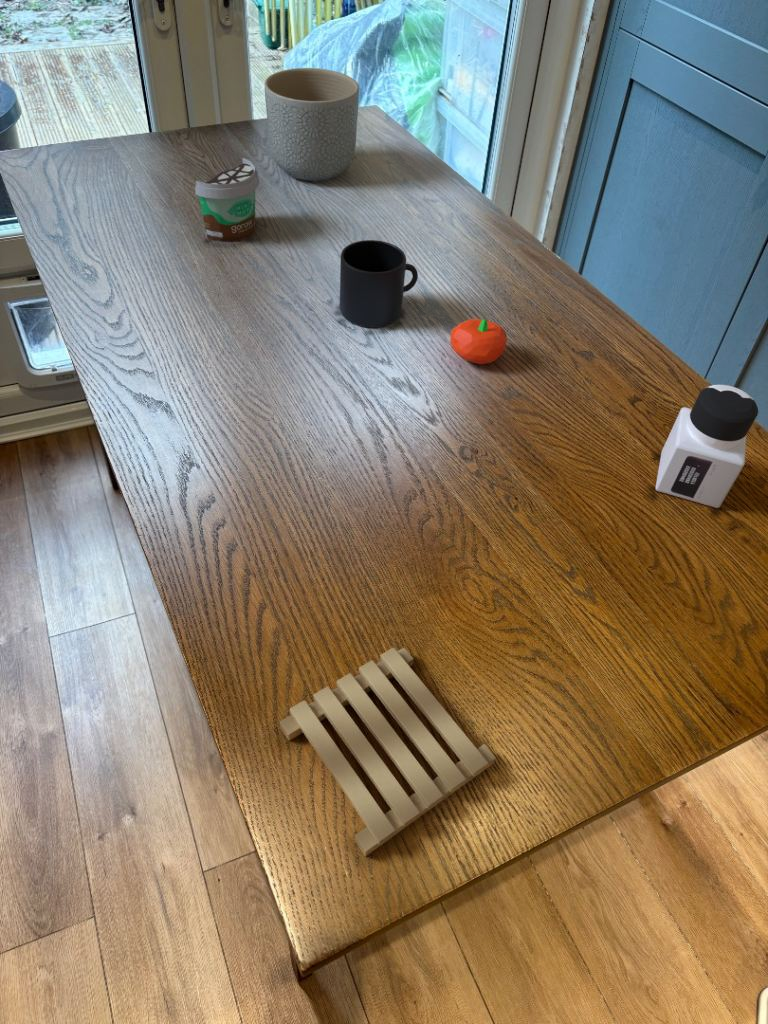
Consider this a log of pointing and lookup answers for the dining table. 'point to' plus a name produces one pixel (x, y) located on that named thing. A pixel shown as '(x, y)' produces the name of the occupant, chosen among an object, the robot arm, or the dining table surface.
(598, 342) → the dining table surface
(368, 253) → the mug
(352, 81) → the planter
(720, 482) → the container
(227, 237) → the food container
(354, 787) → the rack
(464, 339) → the pumpkin
